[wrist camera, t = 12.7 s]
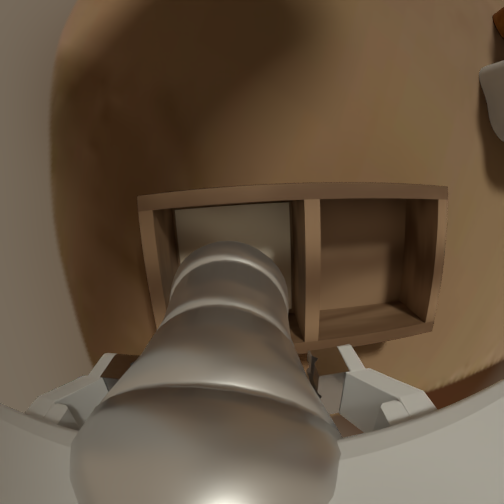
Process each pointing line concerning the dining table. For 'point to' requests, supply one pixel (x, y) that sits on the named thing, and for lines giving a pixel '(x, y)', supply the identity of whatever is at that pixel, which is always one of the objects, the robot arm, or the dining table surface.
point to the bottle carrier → (315, 251)
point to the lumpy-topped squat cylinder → (494, 95)
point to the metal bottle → (212, 400)
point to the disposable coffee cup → (499, 21)
